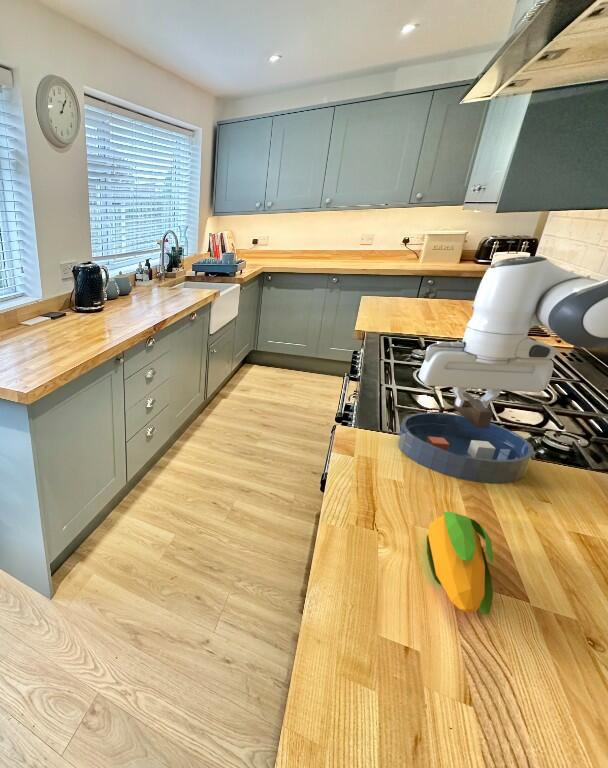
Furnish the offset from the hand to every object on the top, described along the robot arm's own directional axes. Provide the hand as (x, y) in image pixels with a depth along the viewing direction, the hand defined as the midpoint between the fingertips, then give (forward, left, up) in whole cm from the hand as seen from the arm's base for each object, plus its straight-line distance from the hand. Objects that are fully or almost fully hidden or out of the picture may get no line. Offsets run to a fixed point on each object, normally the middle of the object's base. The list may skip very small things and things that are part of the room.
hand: (470, 406), depth 86 cm
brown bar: (0, +1, -2) cm, 2 cm away
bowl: (0, 0, -12) cm, 12 cm away
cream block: (-4, 0, -11) cm, 12 cm away
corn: (+15, +38, -12) cm, 43 cm away
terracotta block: (+4, 0, -11) cm, 12 cm away
